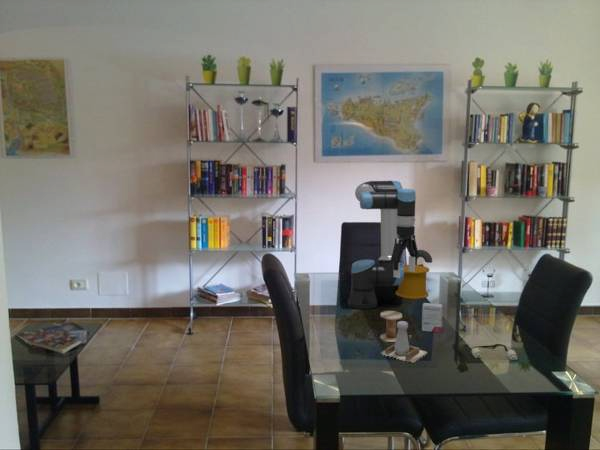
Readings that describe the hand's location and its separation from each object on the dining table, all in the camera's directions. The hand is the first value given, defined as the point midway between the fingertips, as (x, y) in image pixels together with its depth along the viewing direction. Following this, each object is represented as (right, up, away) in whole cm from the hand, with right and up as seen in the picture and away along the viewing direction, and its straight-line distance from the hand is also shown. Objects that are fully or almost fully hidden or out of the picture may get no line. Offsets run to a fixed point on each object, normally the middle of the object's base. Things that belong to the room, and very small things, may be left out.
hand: (404, 274), depth 213 cm
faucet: (+28, -14, +90) cm, 95 cm away
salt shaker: (-5, -29, -20) cm, 36 cm away
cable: (+31, -30, -17) cm, 46 cm away
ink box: (+14, -26, +8) cm, 31 cm away
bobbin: (-6, -27, -2) cm, 28 cm away
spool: (+18, -18, +64) cm, 69 cm away
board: (-4, -30, -18) cm, 35 cm away
